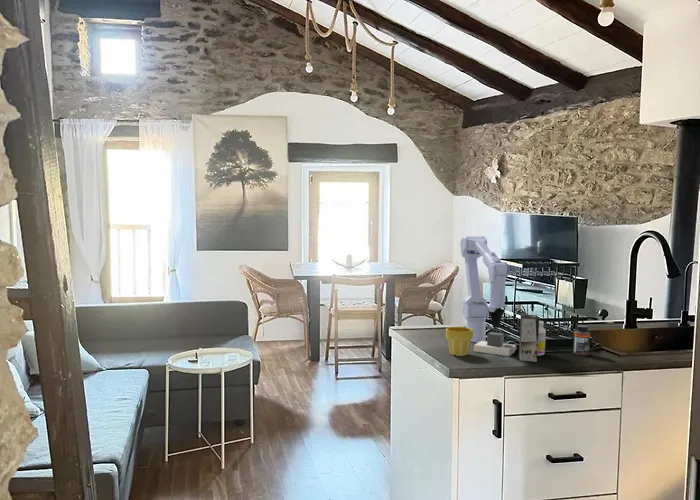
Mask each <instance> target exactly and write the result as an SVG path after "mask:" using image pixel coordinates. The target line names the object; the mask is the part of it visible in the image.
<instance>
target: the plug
mask: <svg viewBox="0 0 700 500" xmlns="http://www.w3.org/2000/svg"><path fill="white" fill-rule="evenodd" d="M486 338H487V340H486V341H487V345H490V346H495V347H502V345H503V343H504V340H505V339H504V338H505V333H503V332H494V331H490V332H489V333H487V337H486Z"/></svg>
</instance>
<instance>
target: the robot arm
mask: <svg viewBox="0 0 700 500" xmlns="http://www.w3.org/2000/svg"><path fill="white" fill-rule="evenodd" d="M460 254H461V257H462V258H464V264H465V274H466V284H467V293H468V297H467V298H465V300H463V302H462V316H463V318H464V319H465V320H466V327H465V328H470V329H472V330H473V338H472V339H471V342H470V343H476V344H477V343H478V342H480V341H482V340H483V341H487V340H486V338H487V337H486V329H487V323H486V322H485V321H486V320H487V318H488V317H489V316H490V319H491V320H490V321H491V325H492V328H495V329H499V328H500V326H501V322H502V321H501V320H502V318H503V315H504V313H505V312H506V309H504V308H508V304H505V300H506V298H505V297H506V280H507V279H506V278H507V277H508V276H509V273H510V267H509V265H508V263H507V262H505V261H502V260H501V259H500V258H499V256H498V255H497V254H496V253H495V252H494V251H491V250H490V249H489V247H488V239H487V238H486V237H485V236H484V235H481V236H473V235H472V236H470V235H469V236H467V235H463V237H462V238H461V240H460ZM480 257H482V262H483V263H484V265H485V266H486V268H487V269H488V270H487V273H488V276H489V277H488V278H489V279H488V280H489V281H490V286H489V287H490V288H489V289H490V290H489V304H488V302H487V299H485V298H484V297H483V296H482V295H481V285H480V277H479V269H478V268H479V267H478V259H479V258H480Z"/></svg>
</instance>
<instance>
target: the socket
mask: <svg viewBox="0 0 700 500" xmlns="http://www.w3.org/2000/svg"><path fill="white" fill-rule="evenodd" d="M515 350H516V351H517V344H513V343H503V345H502V347H495V346H490V345H487V340H485V341H483V340H482V341H480V342H478V343H477V342H476V343H475V344H474V345H473V352H475V353H476V352H477V353H482V354H483V353H484V354H490V355H496V354H497V356H503V357H511V356H512V355H513V354H515Z"/></svg>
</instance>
